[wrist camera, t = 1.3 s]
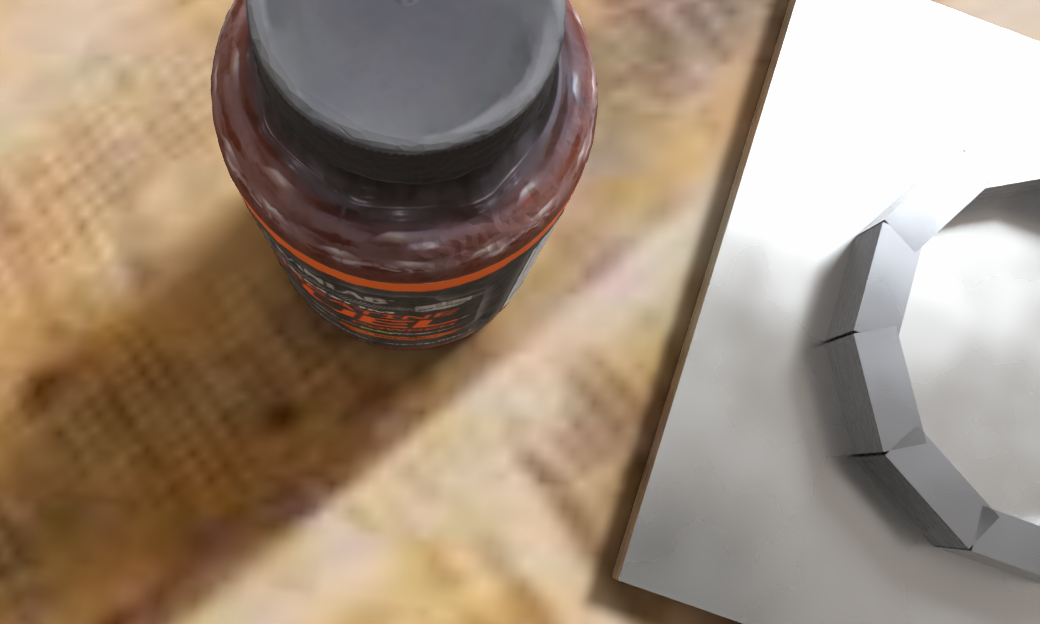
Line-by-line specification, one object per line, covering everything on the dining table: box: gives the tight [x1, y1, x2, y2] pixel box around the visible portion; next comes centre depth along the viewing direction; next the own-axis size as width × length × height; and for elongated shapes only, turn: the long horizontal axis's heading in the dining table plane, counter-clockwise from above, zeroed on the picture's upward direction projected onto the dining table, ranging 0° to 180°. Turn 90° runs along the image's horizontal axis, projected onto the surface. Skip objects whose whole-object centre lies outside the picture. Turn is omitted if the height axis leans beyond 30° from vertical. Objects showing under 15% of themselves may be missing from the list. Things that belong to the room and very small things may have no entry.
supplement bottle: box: [211, 0, 598, 350], centre depth 17 cm, size 6×6×11 cm
